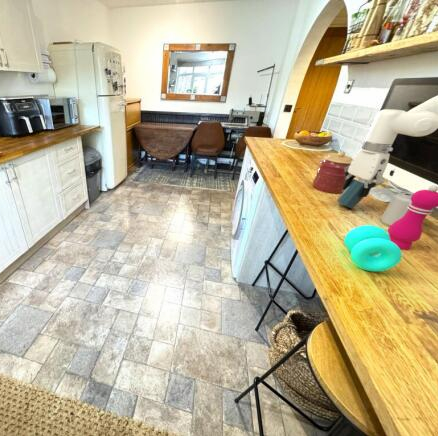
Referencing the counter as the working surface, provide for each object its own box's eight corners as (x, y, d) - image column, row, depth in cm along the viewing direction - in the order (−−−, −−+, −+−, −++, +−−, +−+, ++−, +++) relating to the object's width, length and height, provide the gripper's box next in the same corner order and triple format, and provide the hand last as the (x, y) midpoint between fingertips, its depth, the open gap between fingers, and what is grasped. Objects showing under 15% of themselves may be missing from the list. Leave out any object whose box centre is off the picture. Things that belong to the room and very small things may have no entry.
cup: (343, 203, 101) (361, 182, 96) (356, 210, 95) (376, 188, 91) (332, 199, 99) (350, 177, 95) (345, 206, 93) (365, 183, 89)
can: (403, 222, 88) (422, 192, 82) (409, 232, 82) (431, 201, 76) (377, 217, 91) (394, 188, 85) (381, 226, 85) (400, 195, 79)
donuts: (377, 256, 71) (395, 227, 66) (391, 278, 63) (413, 248, 58) (337, 247, 74) (351, 220, 69) (345, 267, 66) (362, 238, 61)
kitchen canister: (340, 185, 118) (356, 150, 109) (346, 195, 108) (364, 157, 99) (310, 181, 122) (323, 146, 113) (313, 190, 112) (328, 153, 103)
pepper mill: (383, 245, 75) (420, 187, 65) (379, 235, 80) (414, 179, 70) (414, 253, 72) (459, 193, 62) (408, 242, 77) (449, 184, 67)
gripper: (410, 153, 79) (383, 202, 88) (363, 141, 93) (344, 184, 102) (390, 154, 78) (365, 203, 87) (346, 142, 93) (328, 185, 102)
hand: (353, 192), depth 95 cm, fingers closed on cup, 6 cm apart
